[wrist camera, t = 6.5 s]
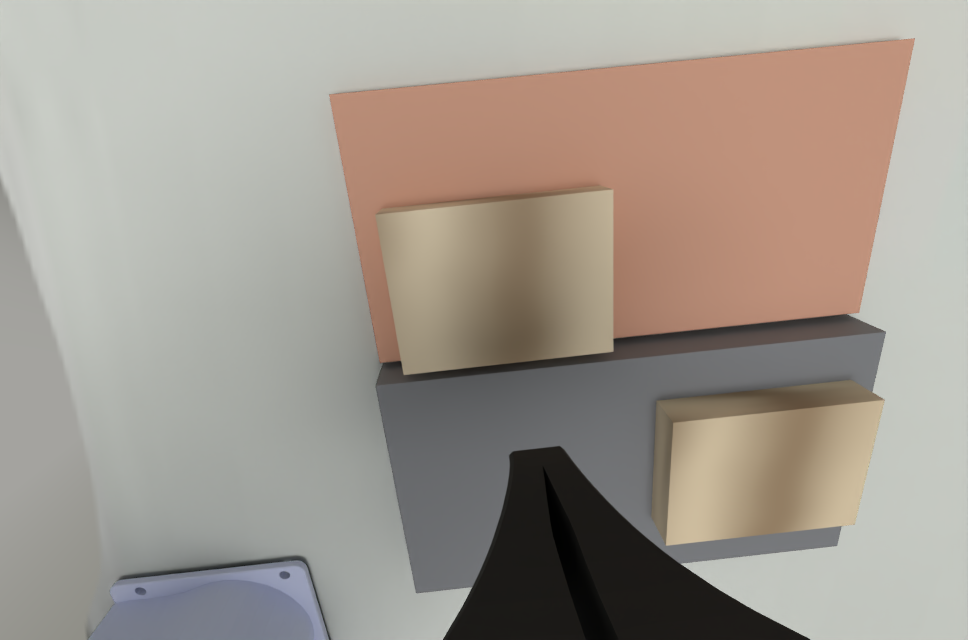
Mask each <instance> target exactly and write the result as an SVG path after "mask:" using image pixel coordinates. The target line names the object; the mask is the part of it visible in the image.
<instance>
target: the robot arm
mask: <svg viewBox="0 0 968 640" xmlns="http://www.w3.org/2000/svg"><path fill="white" fill-rule="evenodd" d="M509 461H510V469H509V478H508V485H507V490H506V495H505V499H504V503H503V508H502V512H501V515H500V518H499V521H498V525H497V528H496V531H495V534H494V537H493V540H492V543H491V545H490V548H489V551H488V553H487V556H486V558H485V561H484V563H483V565H482V568H481V570H480V572H479V574H478V576H477V578H476V581H475V583H474V585H473V587H472V589H471V591H470V593H469V595H468V597H467V599H466V601H465V603H464V605H463V606H462V608H461V610H460V612H459V613H458V615H457V617H456V618H455V620H454V622H453V623H452V625H451V627H450V629H449V630H448V632H447V634H446V635H445V637H444V639H443V640H810V639H809V638H807V637H805V636H803V635H801V634H799V633H797V632H795V631H793V630H791V629H789V628H787V627H785V626H783V625H781V624H779V623H777V622H775V621H773V620H772V619H770V618H768V617H766V616H764V615H762V614H760V613H758V612H756V611H754V610H752V609H751V608H749V607H747V606H745V605H744V604H742V603H740V602H739V601H737V600H735V599H734V598H732V597H730V596H728V595H727V594H725V593H723V592H722V591H720V590H718V589H717V588H715V587H714V586H712V585H711V584H709V583H708V582H706V581H705V580H703V579H702V578H700V577H699V576H697V575H696V574H694V573H693V572H691V571H690V570H688V569H687V568H686V567H684V566H683V565H681V564H680V563H678V562H677V561H676V560H674V559H673V558H672V557H670V556H669V555H668V554H666V553H665V552H664V551H663V550H661V549H660V548H659V547H658V546H656V545H655V544H654V543H653V542H651V541H650V540H649V539H648V538H647V537H645V536H644V535H643V534H642V533H641V532H640V531H639V530H637V529H636V528H635V527H634V526H633V525H632V524H631V523H630V522H629V521H628V520H627V519H626V518H624V517H623V516H622V515H621V514H620V513H619V512H618V511H617V510H616V509H615V508H614V507H613V506H612V505H611V504H610V503H609V502H608V501H607V500H606V499H605V498H604V496H603V495H602V494H601V493H600V492H599V491H598V490H597V489H596V488H595V487H594V486H593V485H592V483H591V482H590V481H589V480H588V479H587V478H586V477H585V475H584V474H583V473H582V472H581V471H580V469H579V468H578V467H577V466H576V464H575V463H574V462H573V461H572V459H571V458H570V457H569V455H568V454H567V453H566V451H565V450H564V449H563V448H562V447H561V446H555V447H546V448H537V449H528V450H519V451H513V452H512V453H511V454H510V455H509ZM284 571H286V572H284ZM110 594H111V596H112V598H113V600H114V602H115V604H114V605H113V606H112V608H111V609H110V610H109V612H108V613H107V614H106V616H105V617H104V618H103V620H102V621H101V622H100V624H99V625H98V626H97V628H96V629H95V630H94V632H93V633H92V635H91V636H90V637H89V639H88V640H329V638H328V634H327V631H326V628H325V624H324V621H323V618H322V614H321V611H320V608H319V604H318V601H317V598H316V595H315V591H314V588H313V585H312V581H311V578H310V575H309V571H308V568H307V566H306V564H305V563H303V562H302V561H296V560H295V561H286V562H277V563H268V564H259V565H250V566H241V567H232V568H223V569H214V570H205V571H196V572H187V573H178V574H169V575H160V576H151V577H142V578H133V579H124V580H119V581H117V582H115V583H114V585H113V586H112V587H111V589H110Z"/></svg>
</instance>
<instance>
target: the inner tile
mask: <svg viewBox="0 0 968 640" xmlns="http://www.w3.org/2000/svg"><path fill="white" fill-rule="evenodd" d="M375 217H376V222H377V228H378V234H379V239H380V245H381V250H382V256H383V262H384V267H385V273H386V279H387V284H388V290H389V296H390V301H391V307H392V312H393V318H394V324H395V329H396V335H397V341H398V346H399V352H400V358H401V363H402V369H403V374H404V375H409V374H418V373H427V372H436V371H445V370H454V369H463V368H472V367H481V366H490V365H499V364H508V363H517V362H526V361H535V360H544V359H553V358H562V357H571V356H580V355H589V354H598V353H607V352H613V189H610V188H607V187H604V186H600V185H599V186H589V187H580V188H571V189H561V190H552V191H542V192H533V193H523V194H514V195H505V196H495V197H486V198H476V199H467V200H458V201H448V202H439V203H429V204H420V205H410V206H401V207H392V208H382V209H381V210H380V211H379V212H378V213H377V214H375Z"/></svg>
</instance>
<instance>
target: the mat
mask: <svg viewBox="0 0 968 640" xmlns="http://www.w3.org/2000/svg"><path fill="white" fill-rule="evenodd" d="M914 40H915V38H914V39H904V40H894V41H883V42H873V43H862V44H852V45H841V46H831V47H821V48H810V49H800V50H789V51H779V52H768V53H758V54H748V55H737V56H727V57H716V58H706V59H695V60H685V61H675V62H664V63H654V64H643V65H633V66H622V67H612V68H602V69H591V70H581V71H570V72H560V73H549V74H539V75H529V76H518V77H508V78H497V79H487V80H476V81H466V82H456V83H445V84H435V85H424V86H414V87H403V88H393V89H383V90H372V91H362V92H351V93H341V94H331V95H329V96H330V101H331V106H332V112H333V117H334V122H335V128H336V133H337V138H338V144H339V149H340V154H341V159H342V165H343V170H344V175H345V181H346V186H347V191H348V197H349V202H350V207H351V212H352V218H353V223H354V228H355V234H356V239H357V244H358V250H359V255H360V260H361V266H362V271H363V276H364V281H365V287H366V292H367V297H368V303H369V308H370V313H371V319H372V324H373V329H374V334H375V340H376V345H377V350H378V356H379V361H380V363H384V362H394V361H401V358H400V352H399V346H398V341H397V335H396V329H395V324H394V318H393V312H392V307H391V301H390V296H389V290H388V284H387V279H386V273H385V267H384V262H383V256H382V250H381V245H380V239H379V234H378V228H377V222H376V217H375V214H377V213H378V212H379V211H380V210H381V209H382V208H392V207H401V206H410V205H420V204H429V203H439V202H448V201H458V200H467V199H476V198H486V197H495V196H505V195H514V194H523V193H533V192H542V191H552V190H561V189H571V188H580V187H589V186H599V185H600V186H604V187H607V188H610V189H613V338H622V337H632V336H641V335H651V334H660V333H670V332H679V331H689V330H698V329H708V328H718V327H727V326H737V325H746V324H756V323H765V322H775V321H784V320H794V319H803V318H813V317H822V316H832V315H841V314H851V313H859V310H860V305H861V300H862V296H863V291H864V286H865V281H866V276H867V271H868V266H869V261H870V256H871V251H872V247H873V242H874V237H875V232H876V227H877V222H878V217H879V212H880V207H881V202H882V197H883V193H884V188H885V183H886V178H887V173H888V168H889V163H890V158H891V153H892V148H893V143H894V139H895V134H896V129H897V124H898V119H899V114H900V109H901V104H902V99H903V94H904V89H905V85H906V80H907V75H908V70H909V65H910V60H911V55H912V50H913V45H914Z"/></svg>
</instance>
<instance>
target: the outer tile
mask: <svg viewBox="0 0 968 640" xmlns="http://www.w3.org/2000/svg"><path fill="white" fill-rule="evenodd" d="M884 401H885V400H884V399H882V398H881V397H879V396H877V395H876V394H874V393H872V392H871V391H869V390H867V389H866V388H864V387H862V386H861V385H859V384H857V383H856V382H854V381H852V380H845V381H836V382H827V383H817V384H808V385H799V386H789V387H780V388H771V389H762V390H752V391H743V392H734V393H724V394H715V395H706V396H696V397H687V398H678V399H668V400H659V401H656V422H655V445H654V468H653V490H652V513H651V518H652V520H653V521H654V523H655V525H656V527H657V529H658V531H659V533H660V535H661V537H662V539H663V541H664V543H665V545H666V546H668V545H677V544H686V543H695V542H703V541H712V540H721V539H730V538H739V537H748V536H757V535H766V534H775V533H784V532H793V531H802V530H811V529H819V528H828V527H837V526H846V525H855V521H856V517H857V513H858V509H859V505H860V500H861V496H862V492H863V488H864V484H865V480H866V476H867V471H868V467H869V463H870V459H871V455H872V451H873V447H874V442H875V438H876V434H877V430H878V426H879V422H880V417H881V413H882V409H883V405H884Z"/></svg>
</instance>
